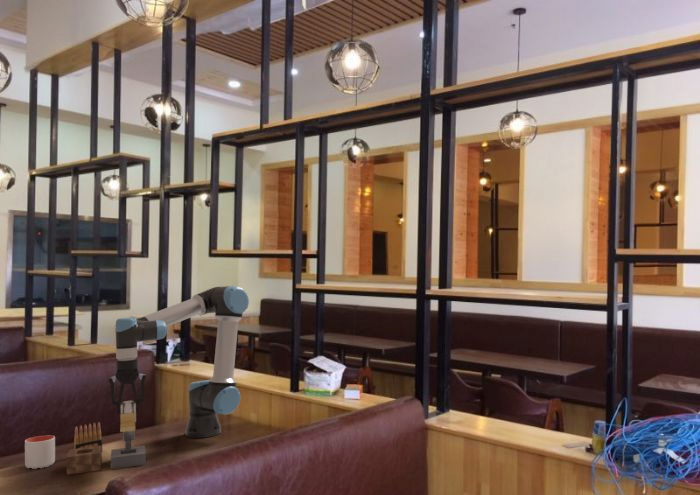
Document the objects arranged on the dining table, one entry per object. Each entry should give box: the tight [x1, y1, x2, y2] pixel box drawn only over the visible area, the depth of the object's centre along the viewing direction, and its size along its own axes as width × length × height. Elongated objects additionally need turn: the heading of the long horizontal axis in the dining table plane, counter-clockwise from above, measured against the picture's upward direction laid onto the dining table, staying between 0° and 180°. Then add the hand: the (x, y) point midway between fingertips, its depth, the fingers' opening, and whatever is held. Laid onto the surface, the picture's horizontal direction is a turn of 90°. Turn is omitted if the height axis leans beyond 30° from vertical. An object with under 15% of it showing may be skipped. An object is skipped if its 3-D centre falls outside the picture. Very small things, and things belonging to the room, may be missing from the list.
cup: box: [24, 434, 56, 470], centre depth 226 cm, size 10×10×10 cm
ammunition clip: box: [73, 421, 103, 449], centre depth 239 cm, size 11×2×12 cm, turn 135°
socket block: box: [110, 440, 147, 470], centre depth 227 cm, size 12×12×14 cm
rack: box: [66, 445, 103, 475], centre depth 221 cm, size 11×11×6 cm
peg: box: [121, 400, 136, 442], centre depth 228 cm, size 4×4×14 cm
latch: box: [119, 412, 136, 433], centre depth 219 cm, size 5×10×4 cm, turn 20°
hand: (128, 421), depth 228 cm, fingers closed on peg, 4 cm apart
